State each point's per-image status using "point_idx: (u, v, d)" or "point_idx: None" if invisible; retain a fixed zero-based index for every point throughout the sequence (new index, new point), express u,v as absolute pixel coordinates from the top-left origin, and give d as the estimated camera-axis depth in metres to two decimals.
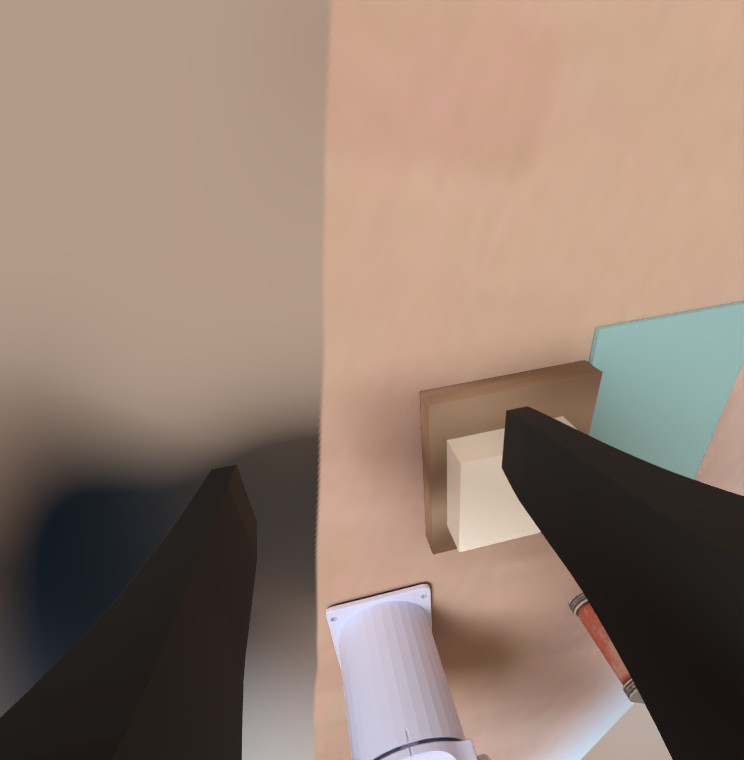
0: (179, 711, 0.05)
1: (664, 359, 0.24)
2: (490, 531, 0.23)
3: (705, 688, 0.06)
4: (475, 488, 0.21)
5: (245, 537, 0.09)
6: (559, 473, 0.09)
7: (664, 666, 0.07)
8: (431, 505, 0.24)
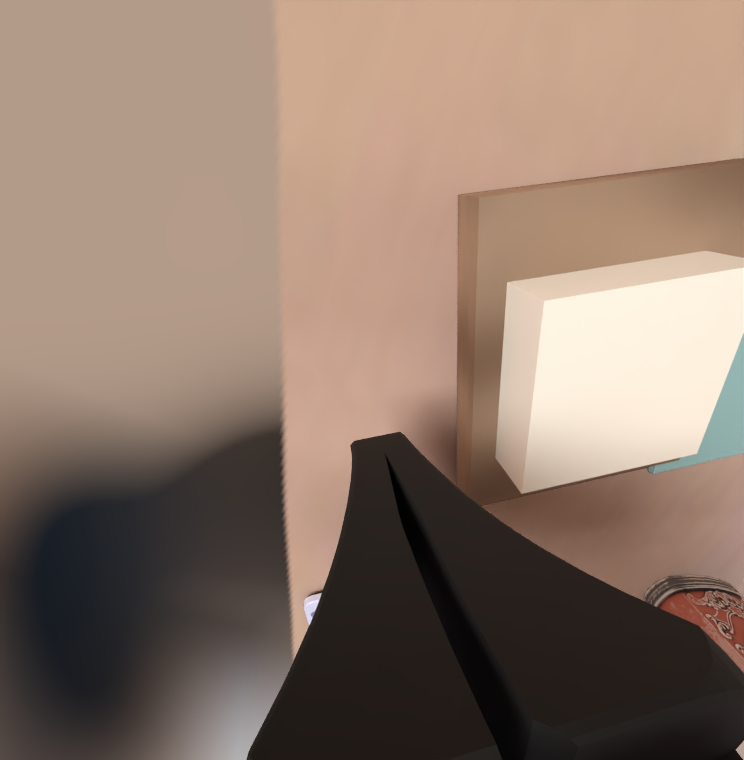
0: None
1: None
2: (577, 456, 0.13)
3: None
4: (564, 362, 0.11)
5: None
6: (405, 508, 0.08)
7: None
8: (472, 418, 0.14)
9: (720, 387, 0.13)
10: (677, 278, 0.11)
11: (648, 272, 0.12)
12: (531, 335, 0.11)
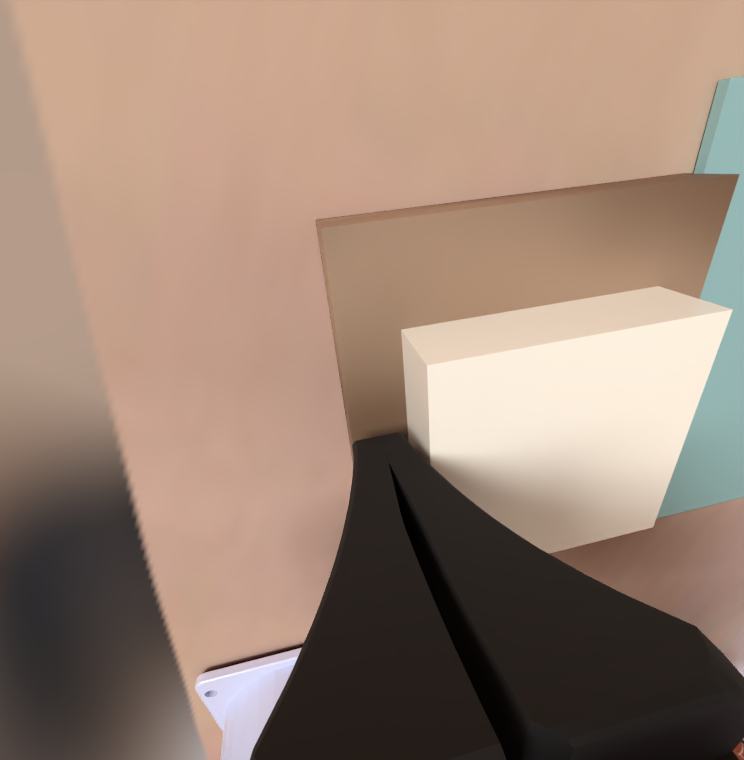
0: None
1: None
2: None
3: None
4: (466, 437, 0.09)
5: None
6: (403, 508, 0.08)
7: None
8: None
9: (676, 454, 0.11)
10: (608, 332, 0.08)
11: (576, 320, 0.09)
12: (422, 403, 0.09)
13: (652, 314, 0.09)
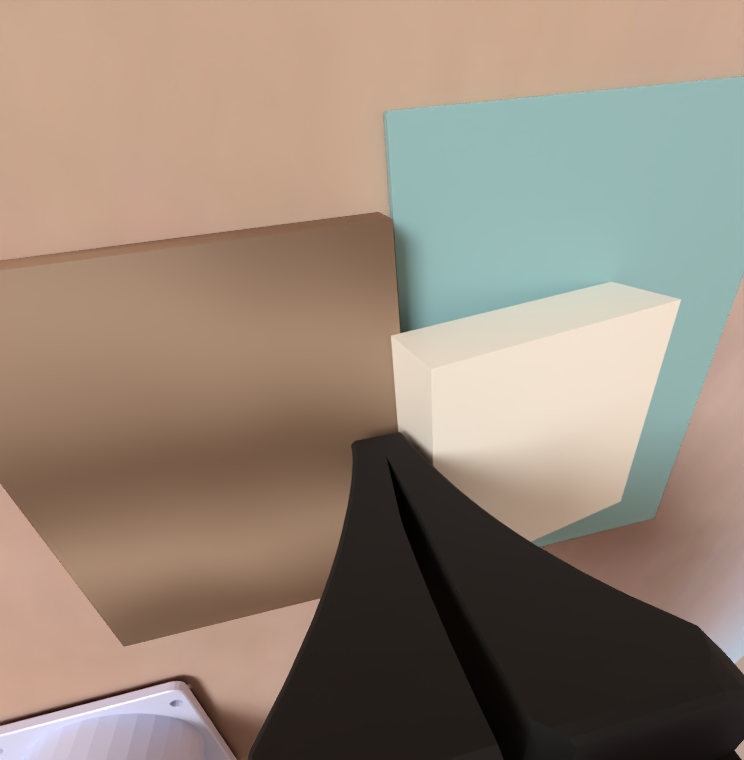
0: None
1: (574, 220, 0.10)
2: None
3: None
4: (466, 436, 0.09)
5: None
6: (404, 508, 0.08)
7: None
8: (57, 554, 0.11)
9: (638, 433, 0.12)
10: (586, 325, 0.09)
11: (553, 316, 0.10)
12: (422, 407, 0.09)
13: (617, 307, 0.10)
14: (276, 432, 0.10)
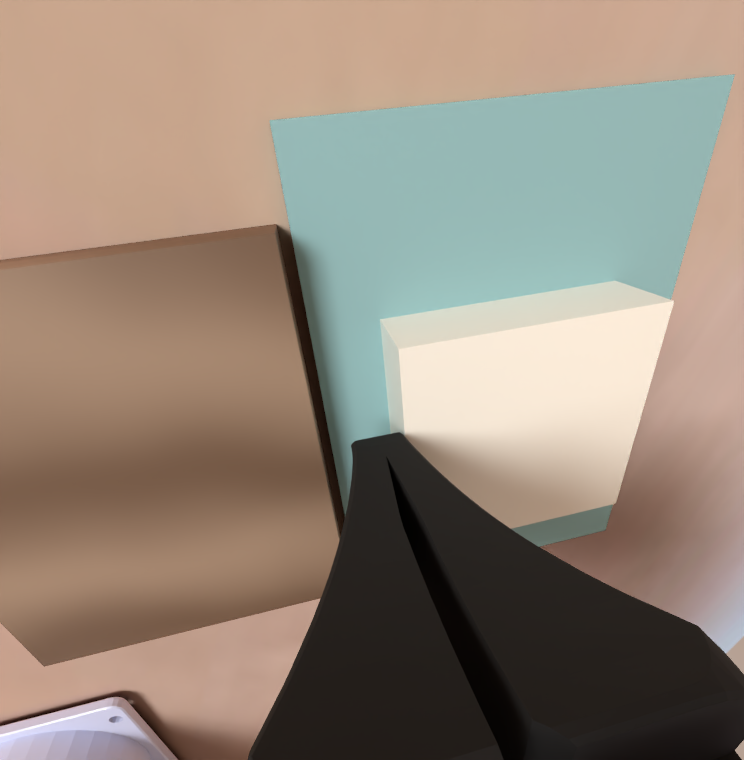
0: None
1: (487, 231, 0.10)
2: None
3: None
4: (437, 414, 0.10)
5: None
6: (404, 508, 0.08)
7: None
8: None
9: (633, 434, 0.12)
10: (561, 320, 0.09)
11: (536, 310, 0.10)
12: (397, 384, 0.10)
13: (603, 305, 0.10)
14: (178, 451, 0.10)
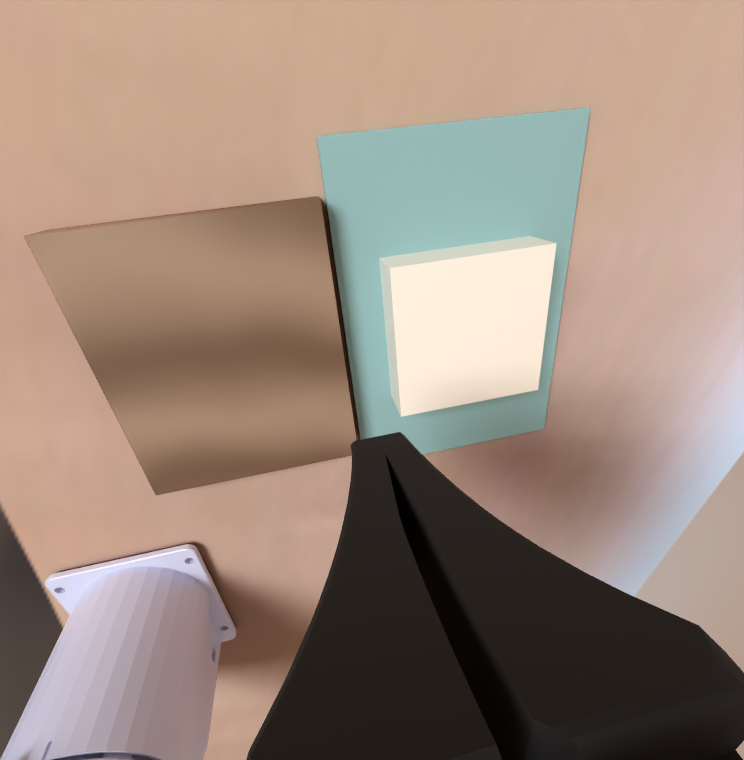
0: None
1: (444, 202, 0.16)
2: (439, 387, 0.18)
3: None
4: (413, 313, 0.16)
5: None
6: (404, 508, 0.08)
7: None
8: (117, 416, 0.17)
9: (543, 336, 0.18)
10: (487, 253, 0.16)
11: (474, 250, 0.16)
12: (389, 294, 0.16)
13: (514, 246, 0.16)
14: (256, 335, 0.16)
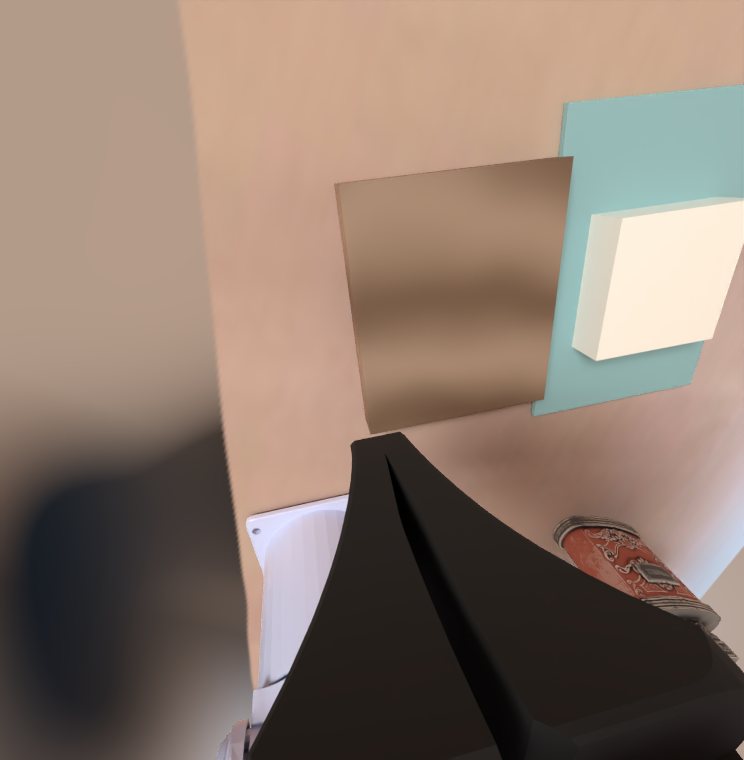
0: None
1: (654, 164, 0.19)
2: (633, 333, 0.20)
3: None
4: (630, 261, 0.18)
5: None
6: (405, 508, 0.08)
7: None
8: (361, 356, 0.19)
9: (727, 287, 0.20)
10: (701, 206, 0.18)
11: (682, 206, 0.19)
12: (610, 244, 0.18)
13: (719, 202, 0.18)
14: (491, 281, 0.18)
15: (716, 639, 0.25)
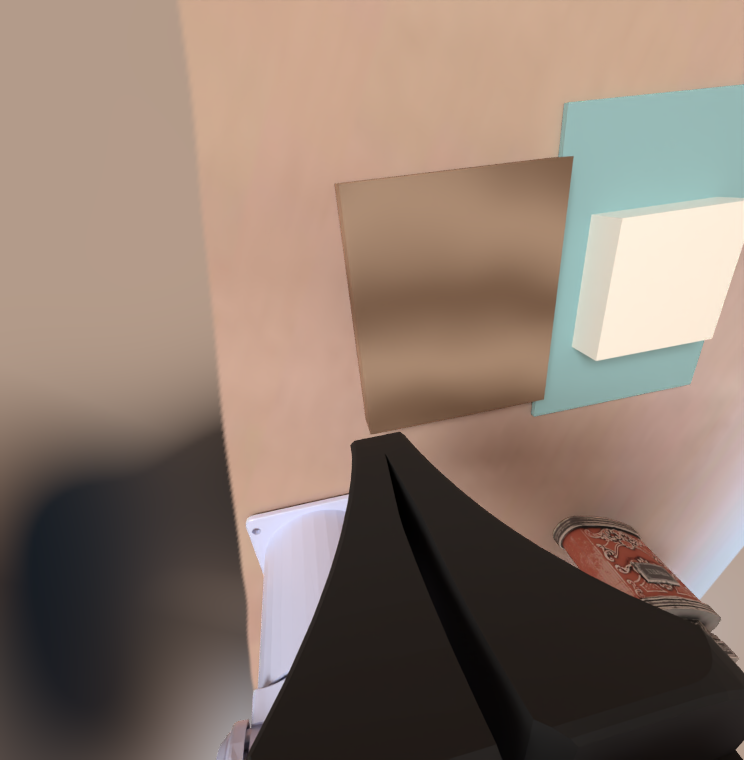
0: None
1: (654, 164, 0.19)
2: (633, 333, 0.20)
3: None
4: (630, 261, 0.18)
5: None
6: (405, 508, 0.08)
7: None
8: (361, 356, 0.19)
9: (727, 287, 0.20)
10: (701, 206, 0.18)
11: (682, 206, 0.19)
12: (610, 244, 0.18)
13: (719, 202, 0.18)
14: (491, 281, 0.18)
15: (716, 639, 0.25)
